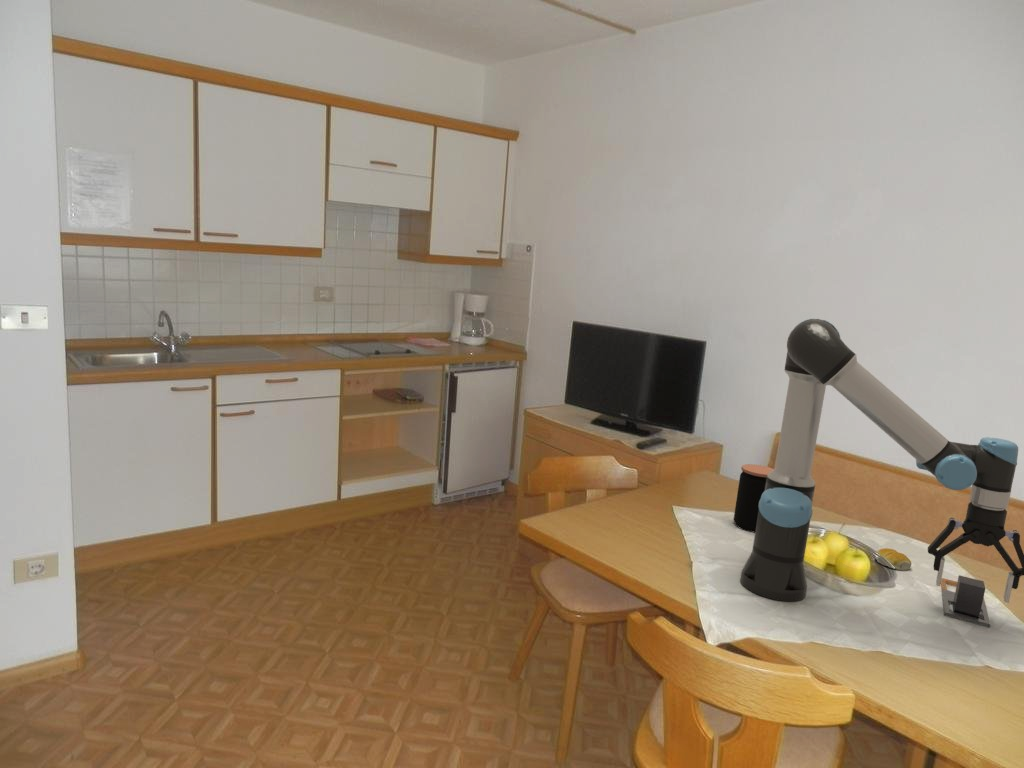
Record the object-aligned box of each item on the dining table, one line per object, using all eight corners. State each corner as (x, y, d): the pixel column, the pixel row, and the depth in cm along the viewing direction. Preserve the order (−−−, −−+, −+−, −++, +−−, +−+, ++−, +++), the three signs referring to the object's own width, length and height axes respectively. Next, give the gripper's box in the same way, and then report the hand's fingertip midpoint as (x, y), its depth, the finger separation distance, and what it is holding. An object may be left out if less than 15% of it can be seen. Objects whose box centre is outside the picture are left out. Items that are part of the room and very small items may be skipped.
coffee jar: (763, 536, 208) (772, 476, 205) (727, 525, 214) (736, 468, 211) (774, 527, 216) (783, 470, 213) (740, 517, 222) (748, 462, 219)
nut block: (978, 620, 165) (985, 588, 163) (953, 614, 167) (960, 582, 166) (976, 612, 169) (983, 581, 168) (952, 606, 171) (958, 575, 170)
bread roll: (891, 557, 201) (893, 544, 200) (915, 571, 192) (918, 557, 191) (866, 557, 199) (868, 544, 198) (889, 571, 190) (892, 557, 189)
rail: (989, 627, 161) (990, 624, 161) (944, 615, 166) (944, 612, 166) (980, 590, 182) (981, 587, 182) (940, 580, 187) (940, 577, 186)
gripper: (1051, 513, 161) (1033, 601, 164) (925, 490, 173) (911, 572, 176) (1057, 522, 154) (1038, 613, 158) (926, 497, 166) (911, 582, 170)
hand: (971, 592), depth 167 cm, fingers open, 13 cm apart
